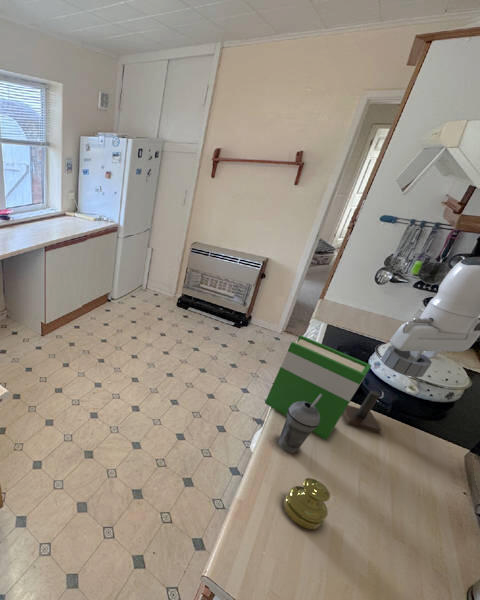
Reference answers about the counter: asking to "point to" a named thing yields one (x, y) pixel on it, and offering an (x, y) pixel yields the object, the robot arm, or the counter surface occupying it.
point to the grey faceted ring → (405, 362)
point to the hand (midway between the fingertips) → (417, 361)
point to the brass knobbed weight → (307, 503)
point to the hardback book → (317, 381)
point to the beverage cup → (299, 424)
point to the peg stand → (363, 414)
